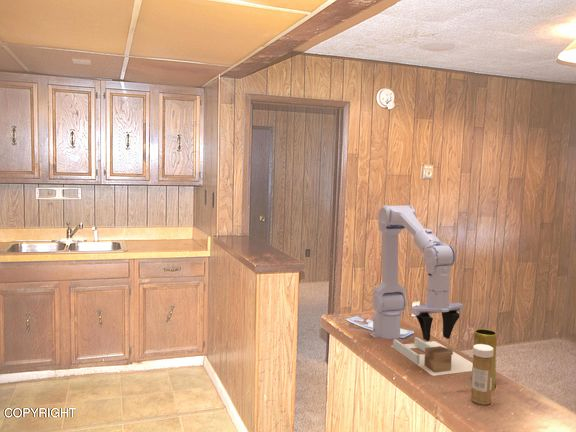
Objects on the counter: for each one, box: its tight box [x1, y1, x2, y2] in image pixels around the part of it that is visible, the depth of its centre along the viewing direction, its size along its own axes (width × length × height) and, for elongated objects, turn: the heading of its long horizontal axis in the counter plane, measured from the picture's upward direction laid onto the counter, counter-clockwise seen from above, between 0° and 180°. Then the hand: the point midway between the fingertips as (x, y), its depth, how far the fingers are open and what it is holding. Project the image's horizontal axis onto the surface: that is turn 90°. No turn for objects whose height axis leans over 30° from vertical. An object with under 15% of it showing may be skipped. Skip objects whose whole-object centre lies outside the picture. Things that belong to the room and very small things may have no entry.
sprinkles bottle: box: [471, 344, 494, 406], centre depth 121 cm, size 5×5×14 cm
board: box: [391, 340, 473, 377], centre depth 146 cm, size 23×16×2 cm
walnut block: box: [424, 346, 452, 373], centre depth 137 cm, size 5×5×5 cm
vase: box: [471, 328, 498, 391], centre depth 129 cm, size 6×6×14 cm
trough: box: [392, 336, 432, 365], centre depth 148 cm, size 14×8×2 cm, turn 16°
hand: (436, 338), depth 138 cm, fingers open, 6 cm apart
